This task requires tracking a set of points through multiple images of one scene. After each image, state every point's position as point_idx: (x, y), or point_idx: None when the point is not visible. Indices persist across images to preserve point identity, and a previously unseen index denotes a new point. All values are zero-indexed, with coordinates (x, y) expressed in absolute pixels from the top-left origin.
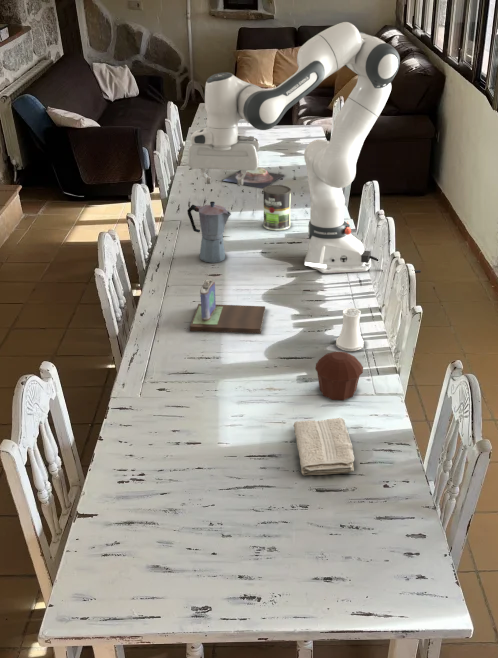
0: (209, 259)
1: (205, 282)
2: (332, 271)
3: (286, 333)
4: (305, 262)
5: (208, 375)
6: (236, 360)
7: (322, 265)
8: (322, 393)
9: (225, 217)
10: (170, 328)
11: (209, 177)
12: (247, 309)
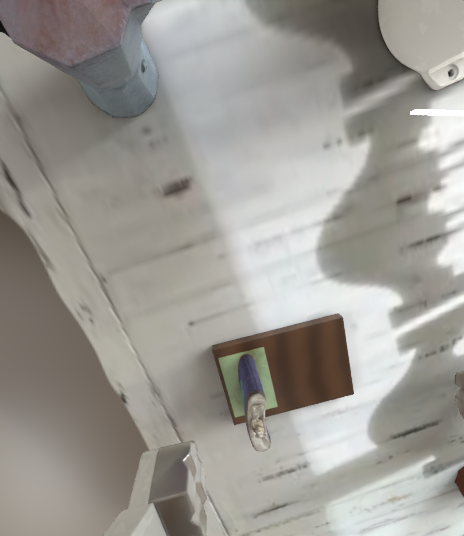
0: (127, 114)
1: (258, 437)
2: (460, 79)
3: (390, 373)
4: (416, 111)
5: (306, 502)
6: (333, 462)
7: (461, 114)
8: (459, 489)
9: (142, 10)
10: (197, 421)
11: (185, 521)
12: (313, 340)
